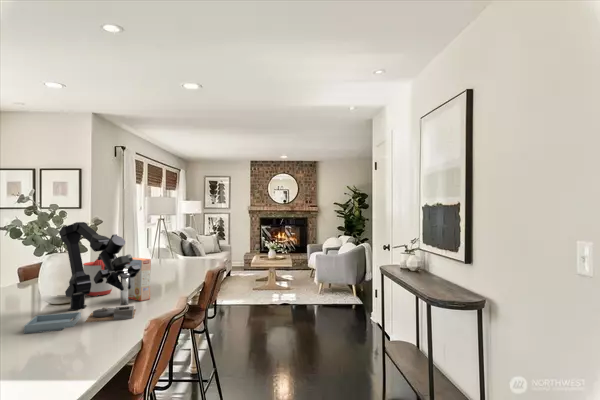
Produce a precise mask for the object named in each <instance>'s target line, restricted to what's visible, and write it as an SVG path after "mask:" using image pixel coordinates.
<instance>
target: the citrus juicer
mask: <svg viewBox="0 0 600 400" xmlns="http://www.w3.org/2000/svg"><path fill="white" fill-rule="evenodd" d="M82 264H83V269H84V273H85V274H86V275H88V274H89V275H90V280H91V289H90V293H89V294H86V295H87V296H91V297H98V296H97V295H99V296H104V295H110V294H111V292H112V290H113V287H114V286H112V285H110V284H108V283H106V281H107V279H106V278H103V282H102V283H98V284H96V283H95V282H94V277H95V275H96V274H97V272H98V271H99V270H105V269H104V267H105V265H104V263H103V261H102V260H98V258H97V259H95V261H89V262H84V263H82Z"/></svg>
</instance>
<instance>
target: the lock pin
mask: <svg viewBox="0 0 600 400" xmlns="http://www.w3.org/2000/svg"><path fill="white" fill-rule="evenodd" d="M129 276H130V273H121V274H120V275H119V276H118V278H119V277H120V282H121V284H122V286H123V288H124V290H123V291H121V290H120V296H119V297H120V301H119V304H120V307H125V306H129V299H128V282H129Z"/></svg>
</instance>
